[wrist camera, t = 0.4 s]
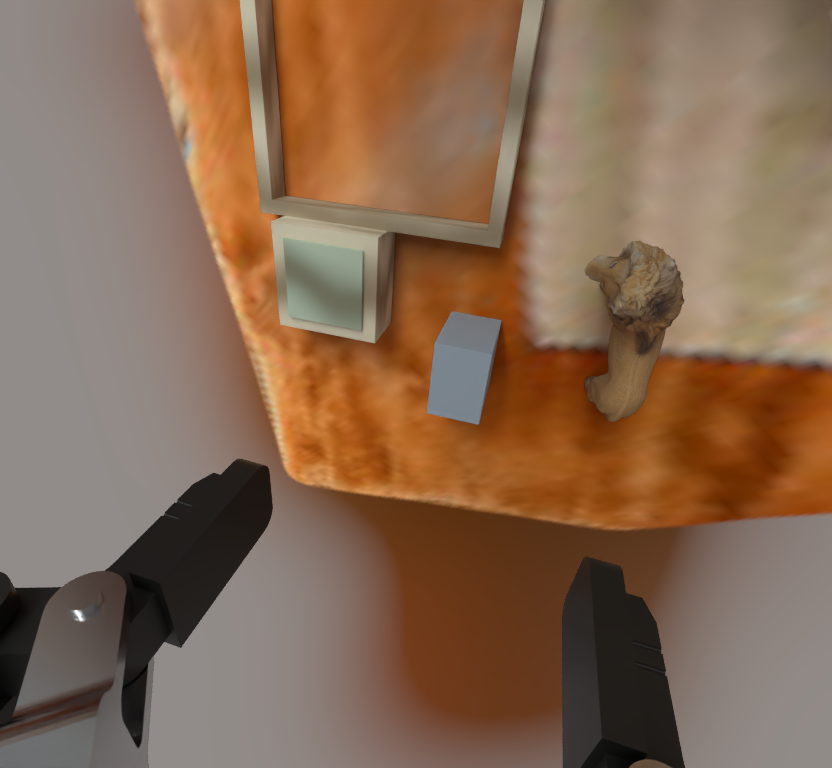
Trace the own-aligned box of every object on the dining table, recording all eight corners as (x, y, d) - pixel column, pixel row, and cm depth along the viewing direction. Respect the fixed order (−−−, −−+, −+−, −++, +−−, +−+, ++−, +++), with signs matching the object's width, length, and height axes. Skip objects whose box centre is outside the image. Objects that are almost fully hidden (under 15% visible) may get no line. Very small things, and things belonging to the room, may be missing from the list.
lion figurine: (580, 224, 31) (587, 261, 23) (669, 212, 29) (707, 248, 21) (583, 407, 37) (588, 481, 30) (655, 407, 36) (679, 485, 28)
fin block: (452, 311, 36) (434, 342, 31) (501, 320, 35) (492, 354, 30) (443, 375, 39) (426, 413, 34) (489, 384, 39) (478, 424, 34)
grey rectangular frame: (247, -122, 26) (197, -158, 22) (567, -121, 23) (568, -164, 19) (282, 302, 40) (255, 321, 36) (484, 340, 37) (476, 365, 33)
